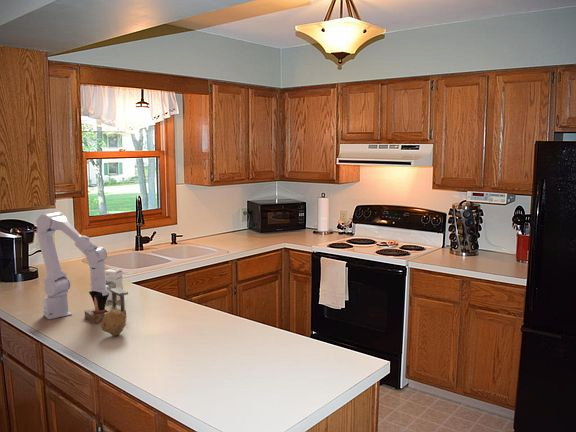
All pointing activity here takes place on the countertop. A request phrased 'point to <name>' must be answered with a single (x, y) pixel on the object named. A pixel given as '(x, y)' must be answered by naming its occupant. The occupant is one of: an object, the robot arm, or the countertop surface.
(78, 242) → the robot arm
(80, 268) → the countertop surface
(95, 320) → the socket station
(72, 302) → the countertop surface
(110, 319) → the natural sponge
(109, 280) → the syrup box
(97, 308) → the peg
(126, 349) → the countertop surface
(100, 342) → the countertop surface
